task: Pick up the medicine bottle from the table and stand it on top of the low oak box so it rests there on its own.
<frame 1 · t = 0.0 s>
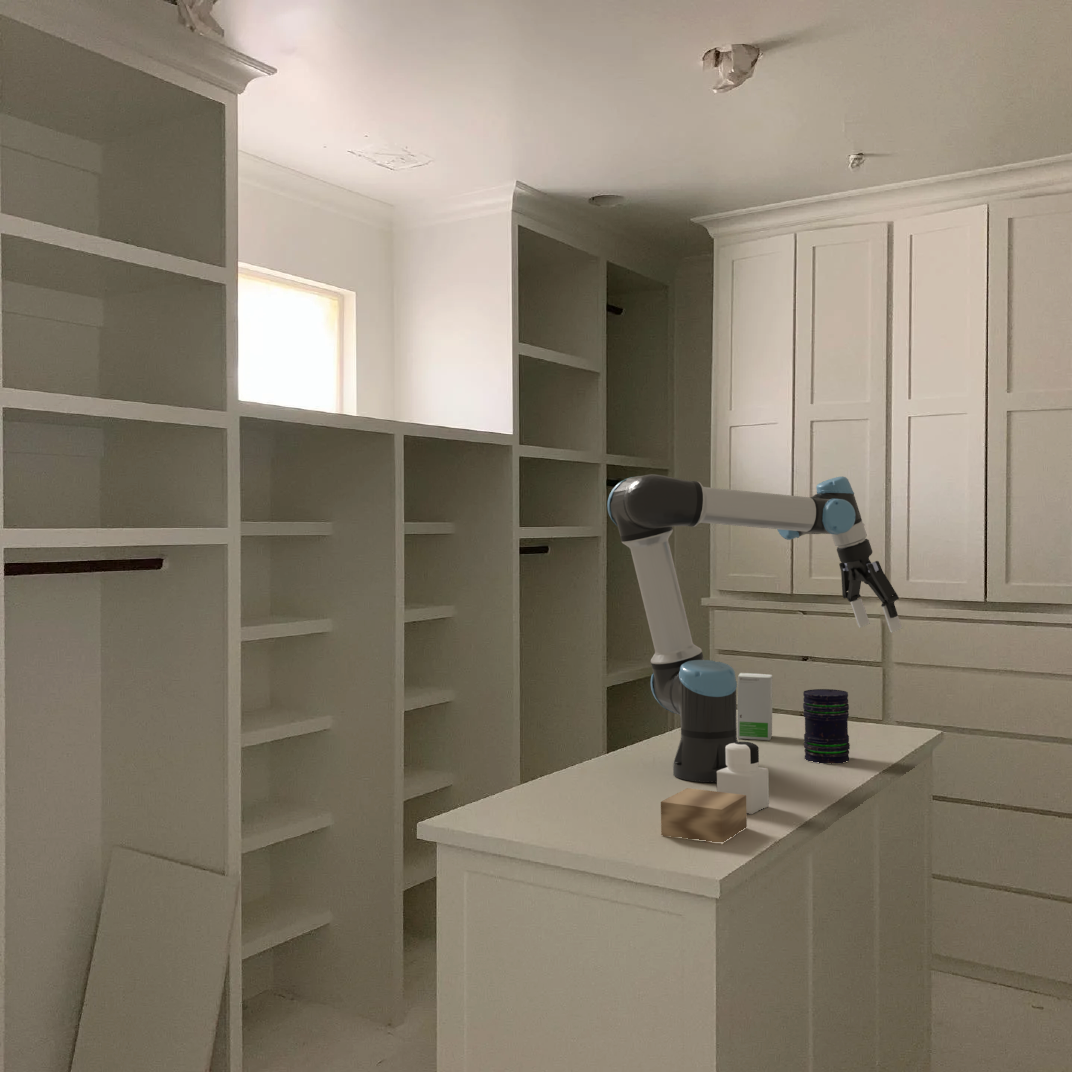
hand: (879, 628, 250), 28 cm above the table, tool tilted 20°, fingers open, 13 cm apart
storage jar: (826, 760, 239), on the table
skincare box: (755, 738, 265), on the table
medicine bottle: (743, 809, 199), on the table
oak box: (704, 833, 183), on the table
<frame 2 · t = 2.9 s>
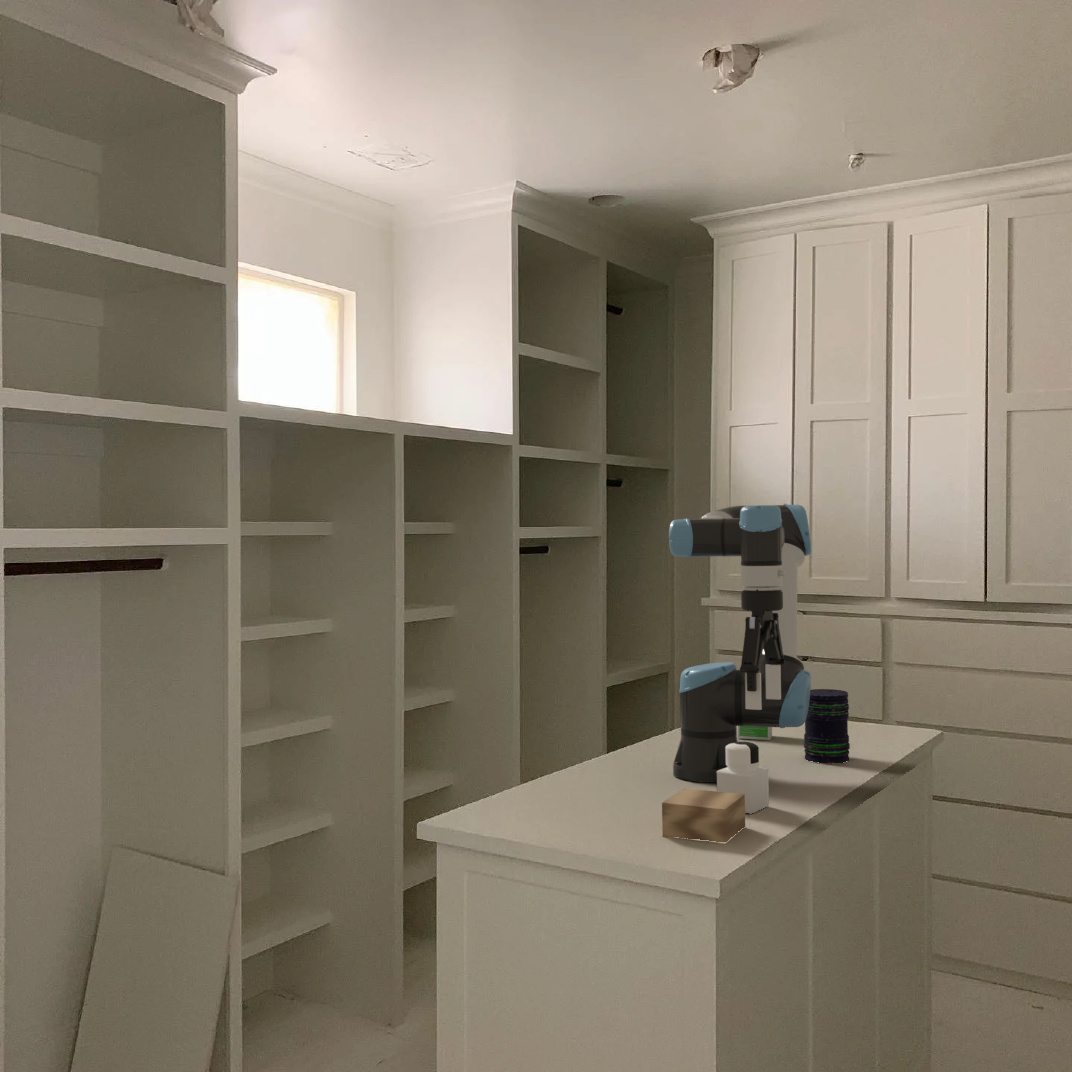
hand: (763, 704, 198), 19 cm above the table, tool pointing down, fingers open, 13 cm apart
nothing on the table moved.
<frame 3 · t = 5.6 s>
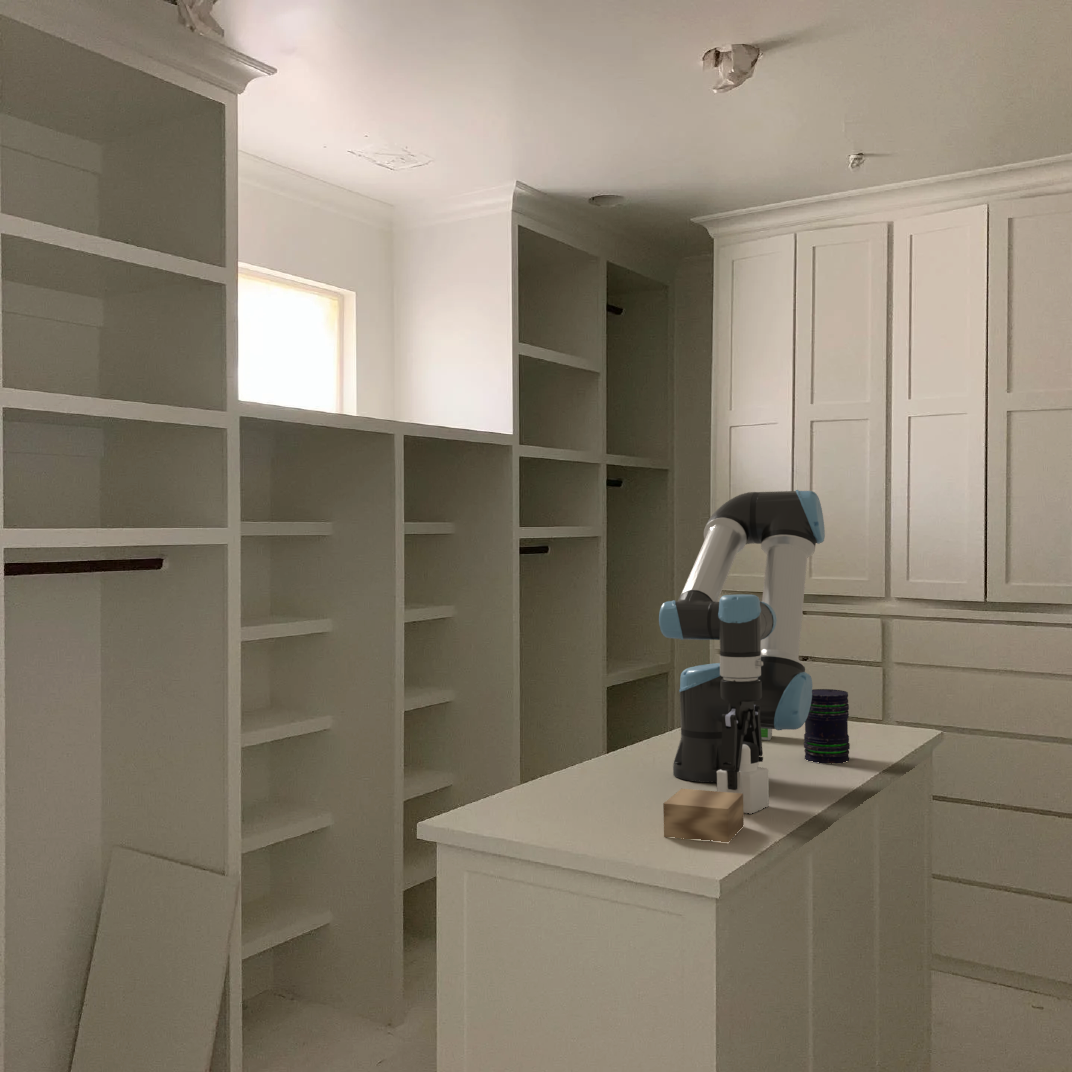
hand: (743, 801, 198), 1 cm above the table, tool pointing down, fingers closed on medicine bottle, 7 cm apart
medicine bottle: (743, 808, 199), on the table, touching gripper
everything else where it was.
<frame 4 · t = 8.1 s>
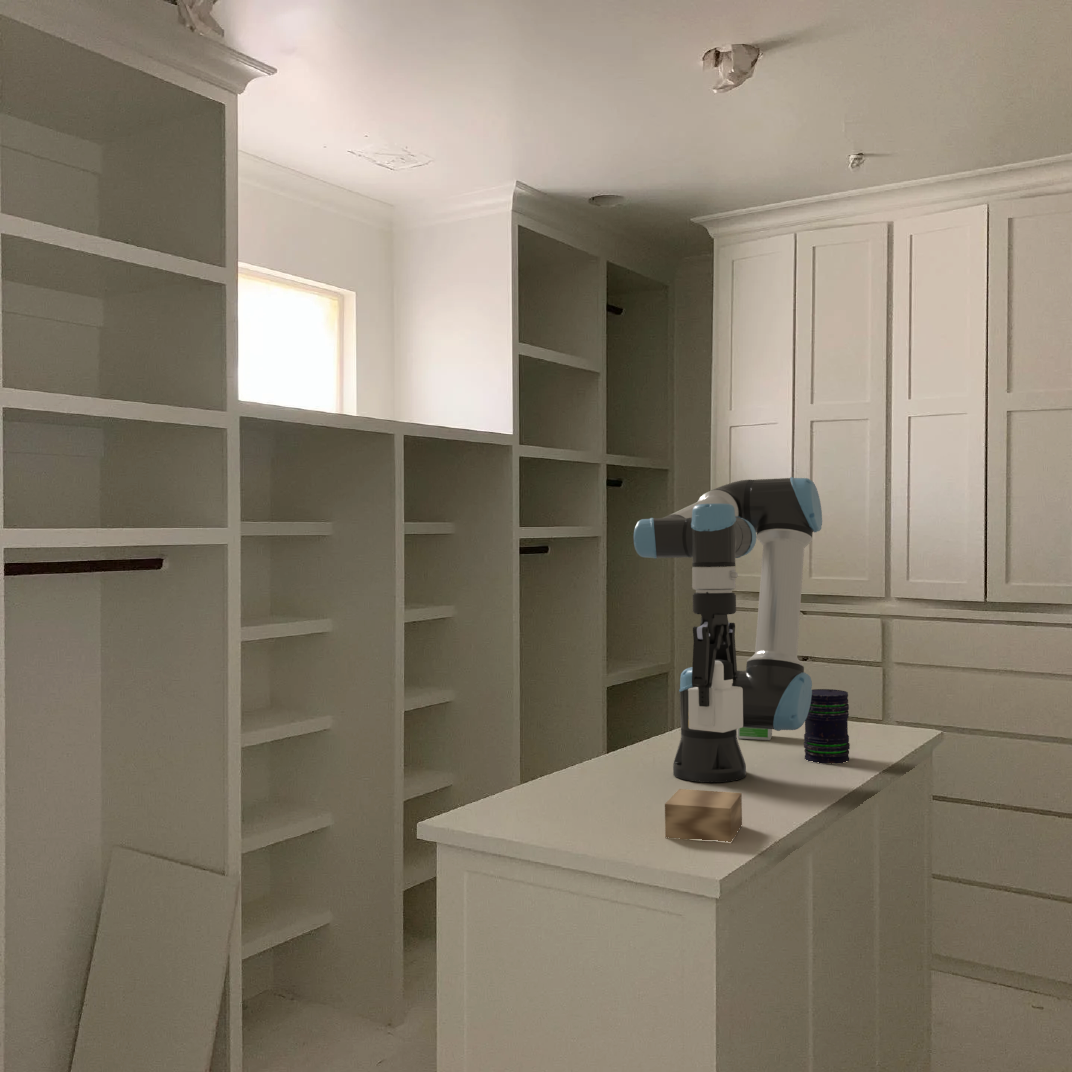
hand: (715, 721, 188), 18 cm above the table, tool pointing down, fingers closed on medicine bottle, 7 cm apart
medicine bottle: (715, 729, 188), point 17 cm above the table, touching gripper
everything else where it was.
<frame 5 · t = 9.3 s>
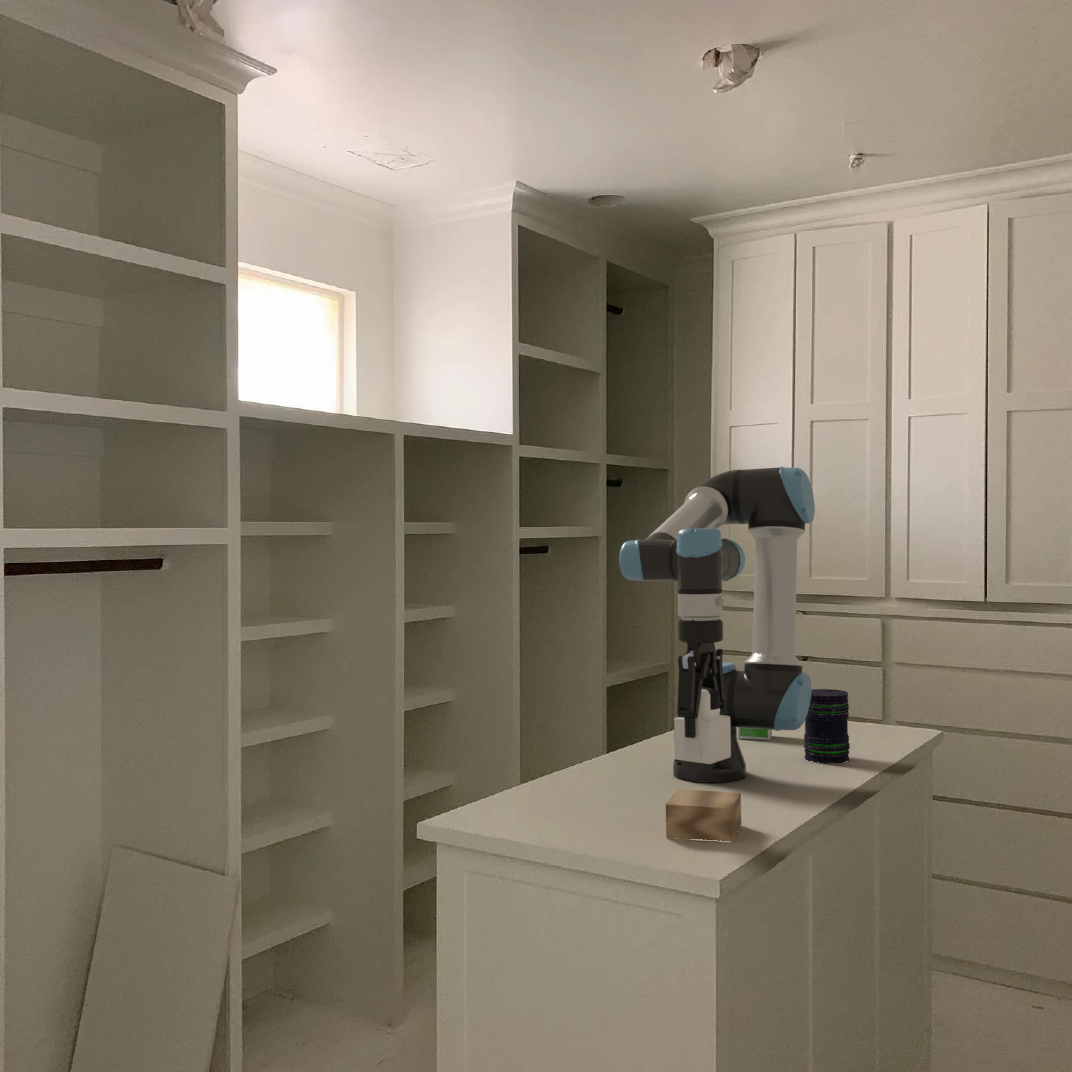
hand: (702, 751, 183), 14 cm above the table, tool pointing down, fingers closed on medicine bottle, 7 cm apart
medicine bottle: (702, 759, 183), point 12 cm above the table, touching gripper
everything else where it was.
when the fingers open (9 cm above the table, at t = 10.5 s): medicine bottle drops 2 cm, resting on oak box.
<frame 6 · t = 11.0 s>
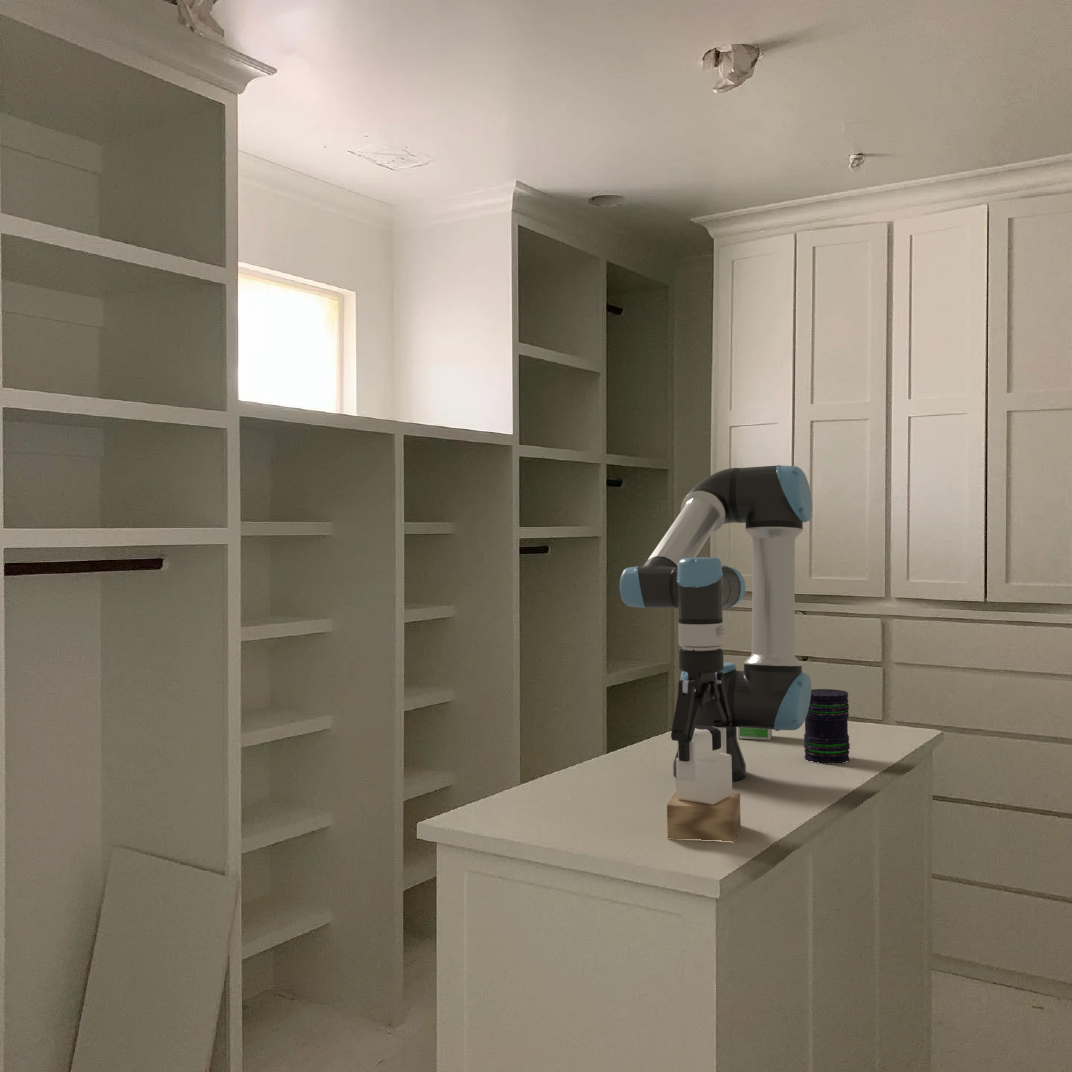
hand: (703, 772, 183), 10 cm above the table, tool pointing down, fingers open, 13 cm apart
medicine bottle: (704, 798, 183), point 6 cm above the table, touching oak box
oak box: (704, 833, 183), on the table, touching medicine bottle
everything else where it was.
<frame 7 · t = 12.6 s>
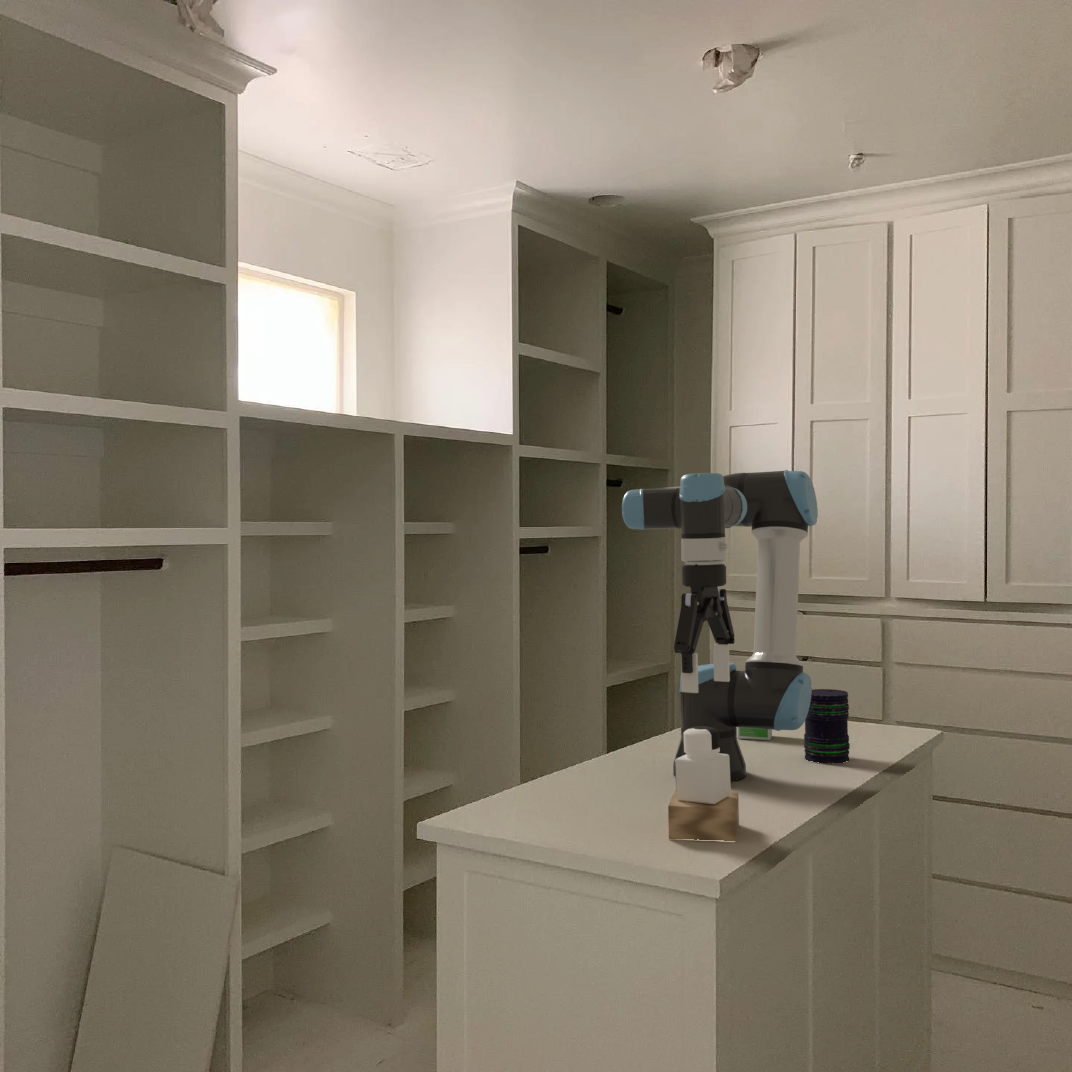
hand: (706, 686, 184), 25 cm above the table, tool pointing down, fingers open, 13 cm apart
nothing on the table moved.
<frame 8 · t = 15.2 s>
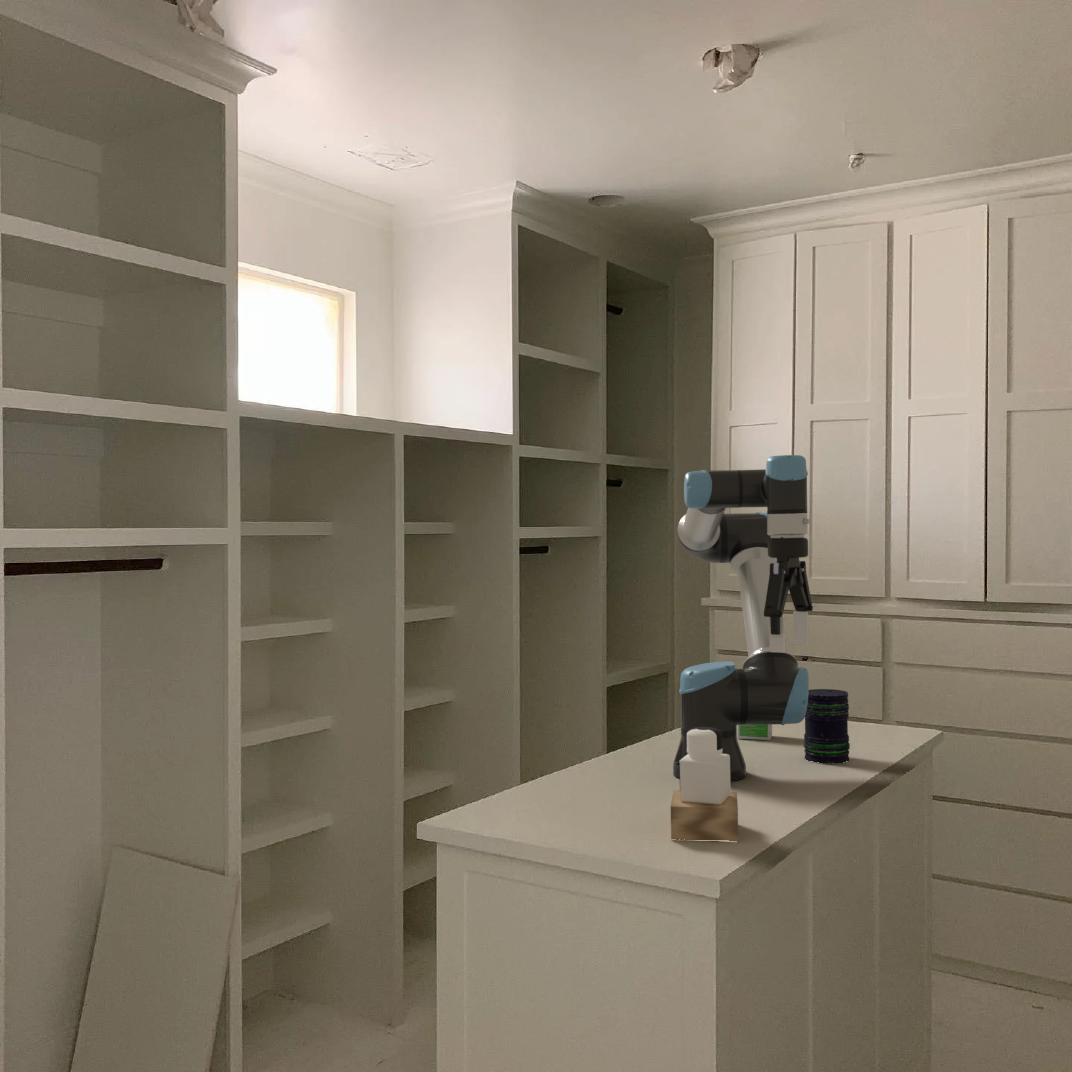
hand: (789, 648, 204), 29 cm above the table, tool pointing down, fingers open, 13 cm apart
at the end: medicine bottle inside the target area on the oak box (0.2 cm from its centre), point 5.9 cm above the oak box's base; medicine bottle tilted 1°; the gripper is holding nothing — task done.
